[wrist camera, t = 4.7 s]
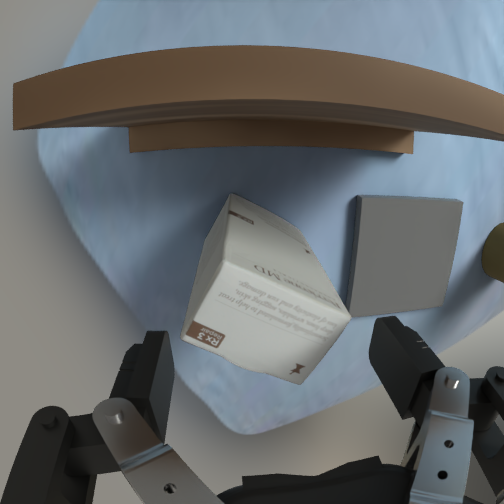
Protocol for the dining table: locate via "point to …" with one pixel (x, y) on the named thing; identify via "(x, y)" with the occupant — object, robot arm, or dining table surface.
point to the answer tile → (401, 253)
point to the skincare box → (262, 295)
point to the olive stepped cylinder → (494, 253)
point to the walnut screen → (258, 99)
